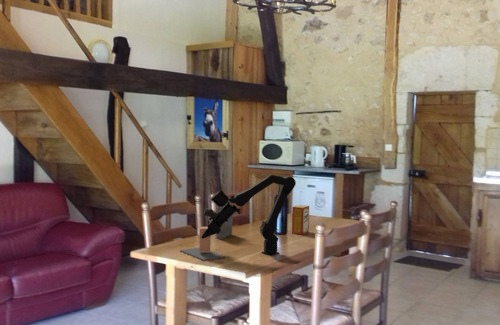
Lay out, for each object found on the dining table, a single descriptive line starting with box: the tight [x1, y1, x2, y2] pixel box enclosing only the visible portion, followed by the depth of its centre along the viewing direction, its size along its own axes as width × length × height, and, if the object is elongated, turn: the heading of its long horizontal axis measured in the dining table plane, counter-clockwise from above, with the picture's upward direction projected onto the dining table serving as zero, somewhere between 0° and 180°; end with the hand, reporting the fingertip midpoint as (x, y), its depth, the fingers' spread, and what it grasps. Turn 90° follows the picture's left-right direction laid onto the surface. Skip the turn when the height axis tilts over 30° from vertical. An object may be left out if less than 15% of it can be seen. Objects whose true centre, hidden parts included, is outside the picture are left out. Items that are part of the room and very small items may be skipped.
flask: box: [215, 203, 233, 240], centre depth 298 cm, size 15×6×20 cm, turn 160°
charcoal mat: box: [179, 246, 226, 262], centre depth 256 cm, size 22×12×1 cm, turn 36°
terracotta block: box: [199, 226, 211, 252], centre depth 256 cm, size 5×5×11 cm
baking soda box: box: [291, 204, 310, 236], centre depth 312 cm, size 10×6×16 cm
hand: (202, 236), depth 255 cm, fingers closed on terracotta block, 5 cm apart
